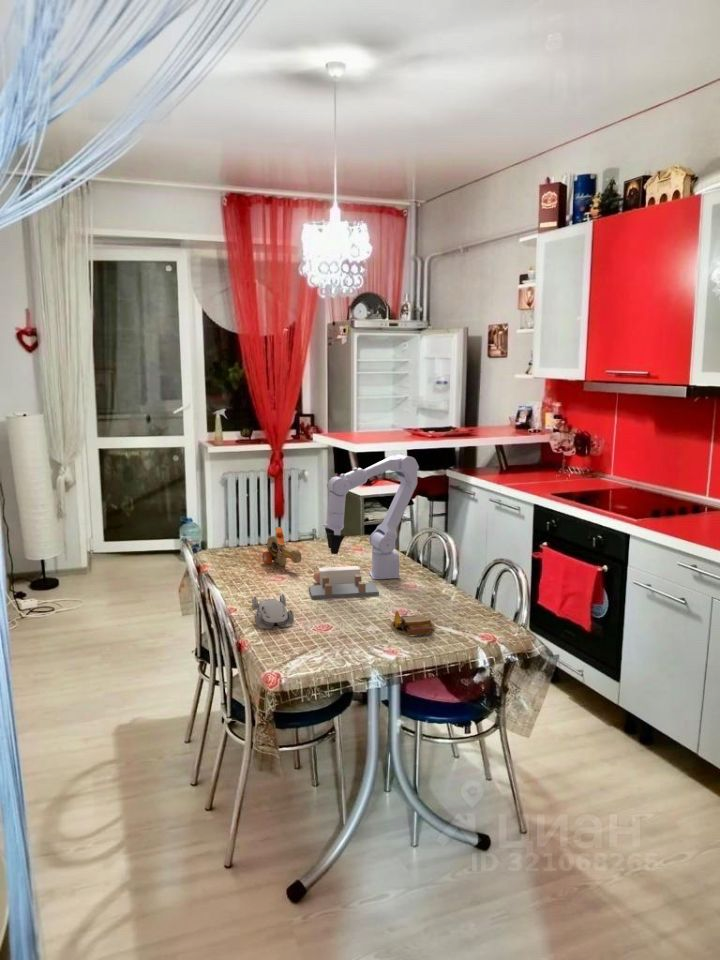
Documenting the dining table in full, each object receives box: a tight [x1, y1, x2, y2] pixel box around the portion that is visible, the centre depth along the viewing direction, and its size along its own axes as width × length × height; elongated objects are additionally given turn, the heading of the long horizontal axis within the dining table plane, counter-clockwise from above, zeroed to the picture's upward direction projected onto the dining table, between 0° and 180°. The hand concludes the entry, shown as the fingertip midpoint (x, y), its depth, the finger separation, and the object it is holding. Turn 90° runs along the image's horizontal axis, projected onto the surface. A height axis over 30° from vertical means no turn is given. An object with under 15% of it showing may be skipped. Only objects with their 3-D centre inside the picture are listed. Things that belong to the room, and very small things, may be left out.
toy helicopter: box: [261, 526, 302, 567], centre depth 267 cm, size 8×21×14 cm, turn 39°
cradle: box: [308, 573, 380, 600], centre depth 239 cm, size 22×10×4 cm, turn 99°
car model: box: [251, 593, 295, 630], centre depth 218 cm, size 11×24×5 cm, turn 13°
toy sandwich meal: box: [390, 611, 435, 636], centre depth 208 cm, size 12×14×5 cm
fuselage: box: [313, 565, 361, 585], centre depth 250 cm, size 16×4×5 cm, turn 100°
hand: (332, 551), depth 248 cm, fingers open, 7 cm apart
